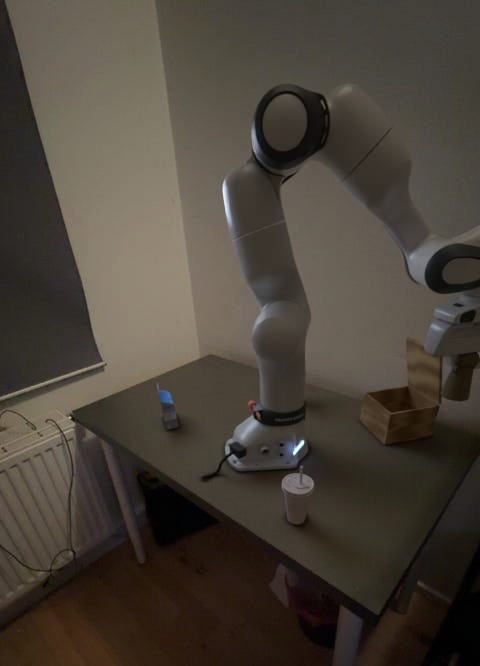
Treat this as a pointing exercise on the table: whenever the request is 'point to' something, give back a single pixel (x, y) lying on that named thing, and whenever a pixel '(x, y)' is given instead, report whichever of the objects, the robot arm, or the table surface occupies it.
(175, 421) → the cordless phone
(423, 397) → the bin
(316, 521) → the table surface
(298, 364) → the robot arm
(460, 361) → the olive tapered rounded piece
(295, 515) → the smoothie
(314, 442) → the table surface
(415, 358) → the bin lid
